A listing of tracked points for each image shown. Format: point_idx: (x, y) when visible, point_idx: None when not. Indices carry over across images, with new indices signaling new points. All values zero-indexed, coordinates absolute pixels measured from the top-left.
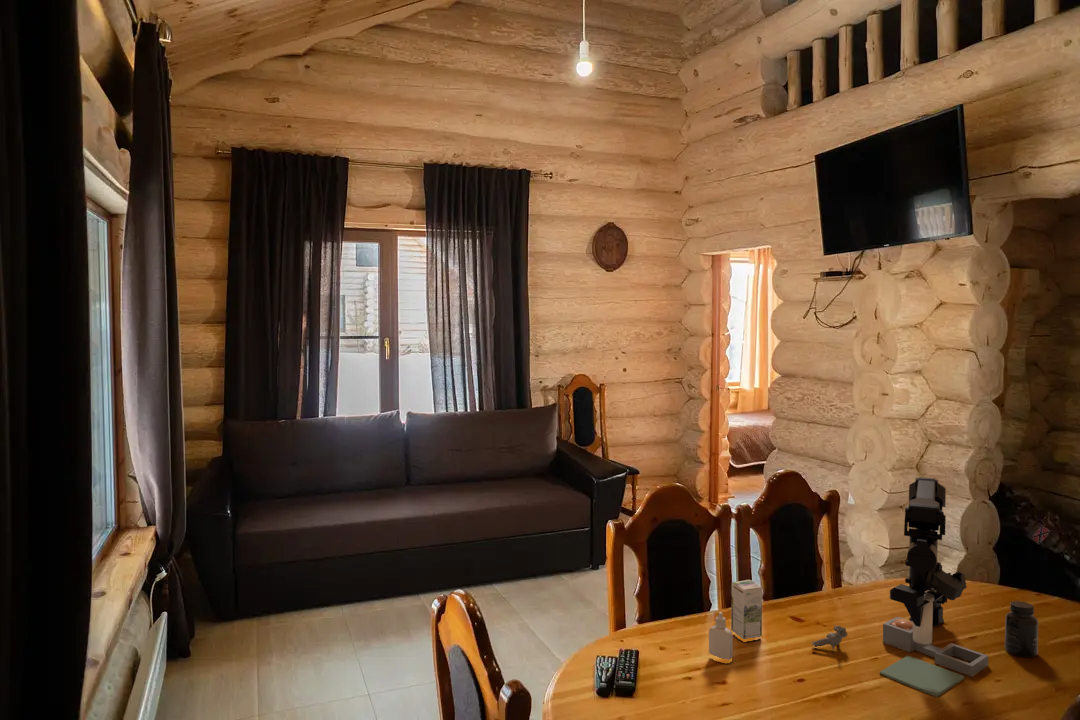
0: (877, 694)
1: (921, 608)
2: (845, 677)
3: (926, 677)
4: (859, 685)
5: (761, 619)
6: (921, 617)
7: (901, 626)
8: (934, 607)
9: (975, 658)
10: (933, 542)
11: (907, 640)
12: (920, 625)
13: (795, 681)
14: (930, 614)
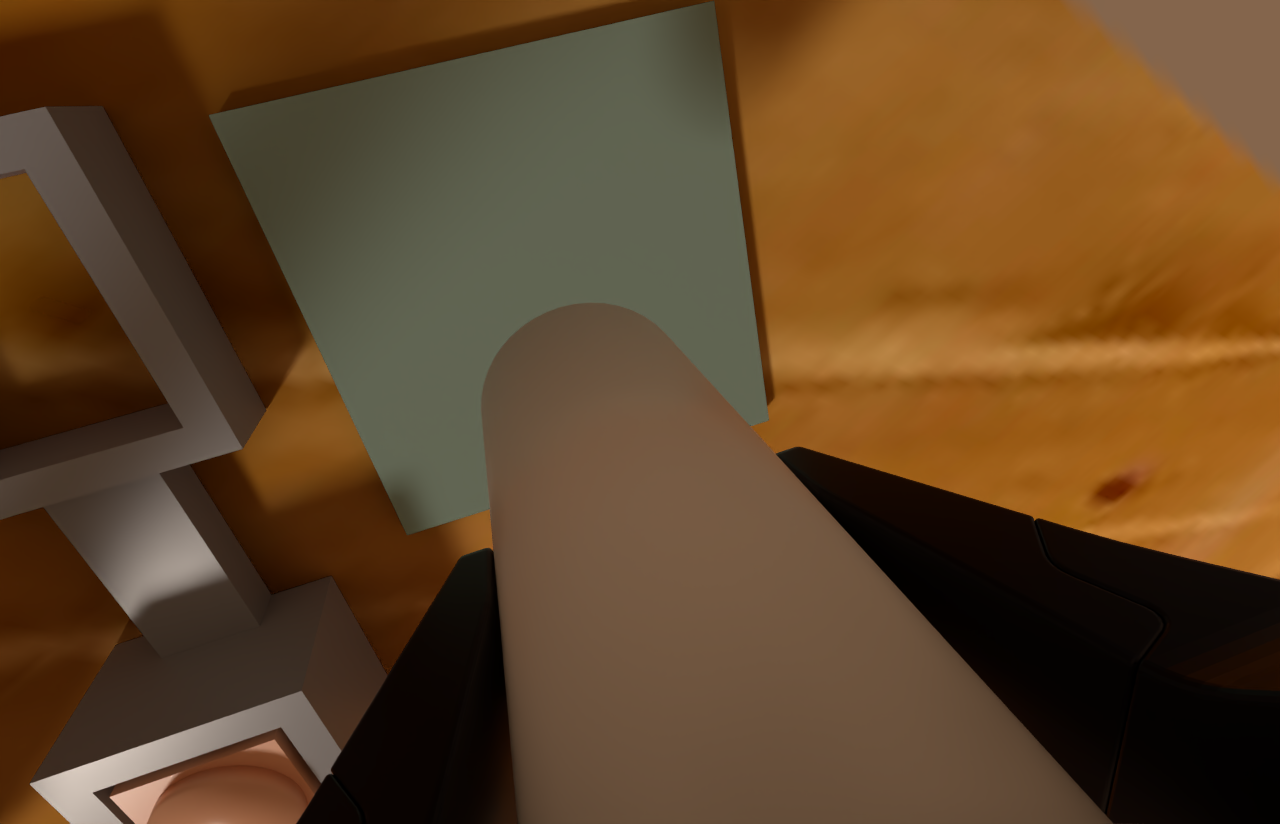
0: (980, 229)
1: (1258, 606)
2: (942, 445)
3: (556, 239)
4: (963, 351)
5: None
6: (900, 510)
7: (292, 785)
8: (332, 776)
9: None
10: None
11: (324, 652)
12: (780, 457)
13: (1140, 485)
14: (724, 519)
